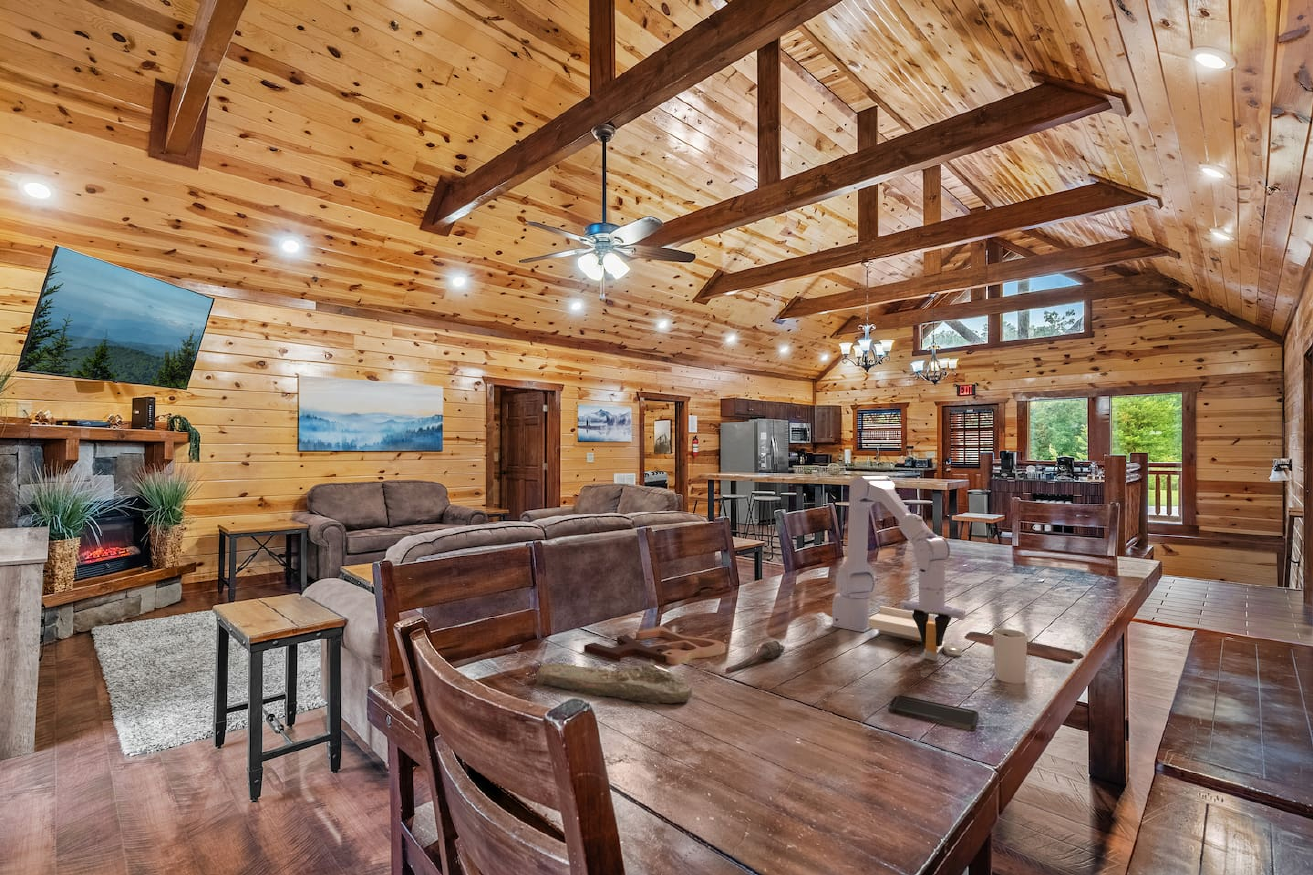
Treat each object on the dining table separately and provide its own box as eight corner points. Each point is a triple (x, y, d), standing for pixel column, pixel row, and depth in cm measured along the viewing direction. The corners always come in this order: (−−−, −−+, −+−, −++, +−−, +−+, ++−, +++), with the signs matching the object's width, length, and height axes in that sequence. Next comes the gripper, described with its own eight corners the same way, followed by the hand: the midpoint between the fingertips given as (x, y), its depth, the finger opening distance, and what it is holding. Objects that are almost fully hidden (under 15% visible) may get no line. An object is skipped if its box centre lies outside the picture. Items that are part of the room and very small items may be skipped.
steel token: (941, 654, 152) (941, 648, 152) (945, 650, 155) (945, 644, 155) (959, 658, 149) (959, 651, 149) (963, 653, 152) (963, 647, 152)
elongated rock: (551, 677, 140) (527, 696, 131) (549, 654, 140) (525, 671, 131) (698, 690, 128) (684, 712, 118) (697, 665, 128) (682, 684, 118)
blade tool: (923, 658, 148) (925, 622, 148) (932, 646, 157) (933, 613, 157) (937, 661, 147) (938, 625, 147) (945, 649, 156) (946, 615, 155)
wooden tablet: (957, 634, 165) (973, 623, 171) (957, 642, 165) (973, 631, 171) (1071, 661, 145) (1085, 647, 151) (1072, 670, 145) (1085, 656, 151)
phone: (896, 694, 125) (979, 711, 117) (896, 699, 125) (979, 717, 117) (887, 707, 118) (974, 726, 110) (887, 713, 118) (974, 733, 110)
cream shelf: (868, 638, 164) (868, 612, 164) (881, 631, 171) (881, 605, 171) (922, 650, 155) (922, 622, 155) (934, 641, 161) (934, 615, 161)
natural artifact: (788, 657, 154) (797, 646, 152) (727, 675, 139) (735, 663, 137) (779, 645, 156) (786, 634, 154) (717, 661, 141) (725, 649, 140)
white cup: (989, 678, 135) (989, 633, 136) (997, 670, 140) (997, 626, 140) (1023, 686, 131) (1023, 639, 131) (1031, 678, 136) (1030, 632, 136)
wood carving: (583, 653, 153) (645, 680, 135) (583, 644, 153) (645, 670, 135) (667, 631, 171) (730, 652, 154) (667, 624, 172) (730, 644, 154)
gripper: (895, 585, 150) (895, 641, 150) (959, 595, 141) (959, 654, 141) (905, 581, 156) (905, 635, 155) (967, 589, 146) (968, 647, 146)
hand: (931, 644), depth 148 cm, fingers closed on blade tool, 3 cm apart
